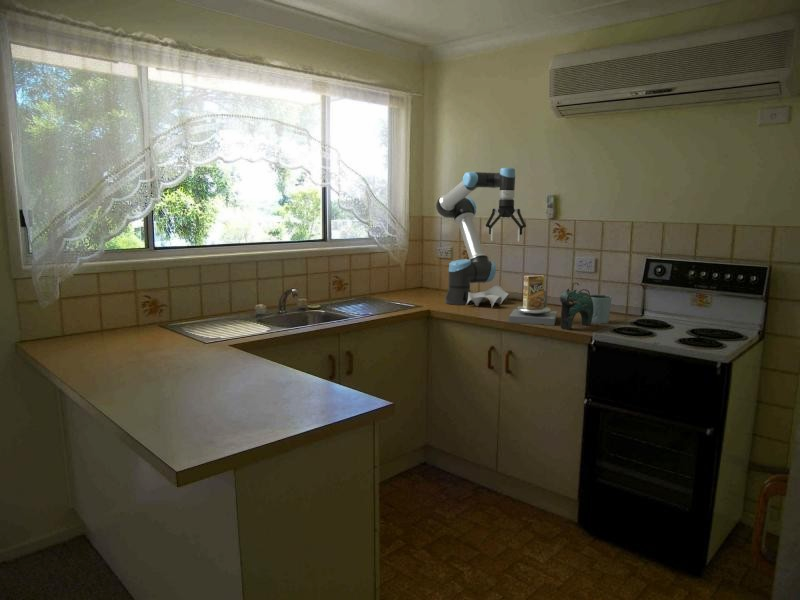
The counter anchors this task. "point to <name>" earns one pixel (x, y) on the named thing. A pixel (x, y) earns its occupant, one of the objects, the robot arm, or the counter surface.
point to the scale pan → (533, 310)
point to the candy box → (533, 292)
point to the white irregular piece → (489, 296)
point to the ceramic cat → (575, 307)
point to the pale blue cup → (601, 308)
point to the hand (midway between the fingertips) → (505, 241)
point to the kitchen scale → (534, 316)
